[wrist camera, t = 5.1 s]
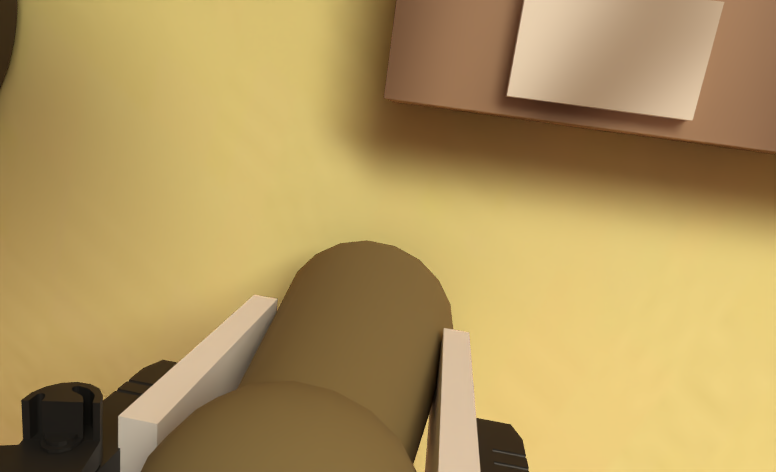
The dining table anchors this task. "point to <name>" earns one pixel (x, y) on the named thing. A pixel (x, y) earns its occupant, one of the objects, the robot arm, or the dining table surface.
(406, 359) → the cork
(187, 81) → the dining table surface
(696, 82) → the caddy
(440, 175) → the dining table surface
